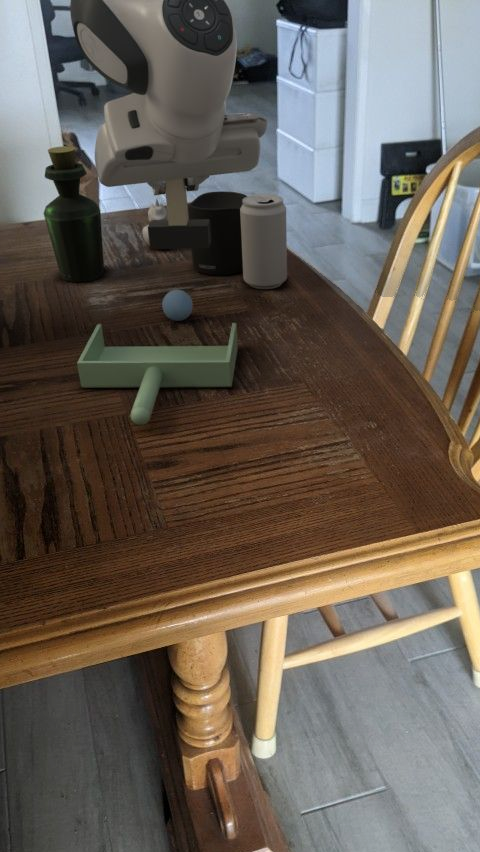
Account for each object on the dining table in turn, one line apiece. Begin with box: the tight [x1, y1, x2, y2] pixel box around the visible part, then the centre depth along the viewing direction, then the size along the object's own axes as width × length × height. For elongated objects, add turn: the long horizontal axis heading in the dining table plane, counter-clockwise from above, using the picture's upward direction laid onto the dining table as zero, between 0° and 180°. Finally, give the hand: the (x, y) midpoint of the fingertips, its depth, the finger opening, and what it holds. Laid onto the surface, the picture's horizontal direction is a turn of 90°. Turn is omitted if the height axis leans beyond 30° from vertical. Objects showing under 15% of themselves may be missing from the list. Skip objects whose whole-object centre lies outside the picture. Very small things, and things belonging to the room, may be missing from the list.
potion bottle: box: [43, 145, 105, 283], centre depth 113 cm, size 8×8×18 cm
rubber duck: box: [141, 198, 168, 246], centre depth 127 cm, size 5×7×8 cm
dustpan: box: [76, 322, 239, 426], centre depth 87 cm, size 20×17×3 cm
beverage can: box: [240, 193, 288, 290], centre depth 111 cm, size 6×6×12 cm
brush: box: [148, 178, 211, 250], centre depth 103 cm, size 8×3×13 cm, turn 88°
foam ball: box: [161, 289, 194, 322], centre depth 103 cm, size 4×4×4 cm
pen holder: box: [187, 190, 248, 277], centre depth 117 cm, size 9×9×10 cm
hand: (174, 188), depth 103 cm, fingers closed on brush, 3 cm apart
